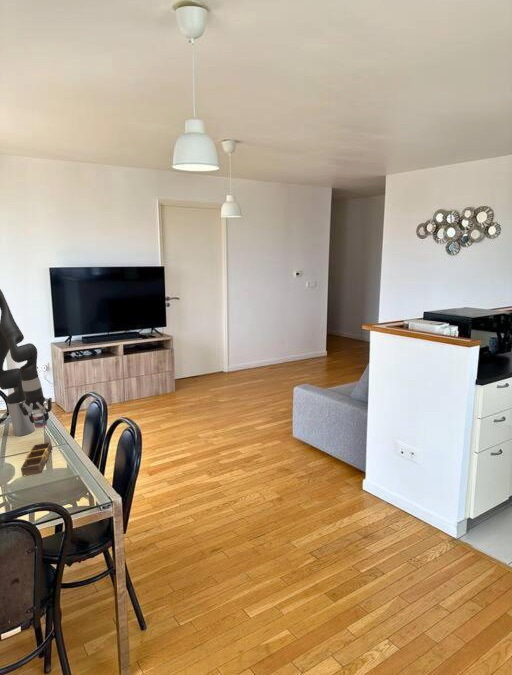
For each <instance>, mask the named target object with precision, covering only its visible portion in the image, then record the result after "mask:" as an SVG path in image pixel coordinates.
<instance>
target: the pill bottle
mask: <svg viewBox="0 0 512 675" xmlns="http://www.w3.org/2000/svg"><path fill="white" fill-rule="evenodd" d="M32 414H33V415H32V417H33V421H34V423H33V424H34V428H35V429H37V430H39V429H43V428H45V427H46V426H47V425H48V420H47V421H45V417H44V412H43V411H42V410H41V409H40V408H36V409H33V412H32Z"/></svg>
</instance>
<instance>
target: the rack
mask: <svg viewBox="0 0 512 675" xmlns="http://www.w3.org/2000/svg"><path fill="white" fill-rule="evenodd" d="M51 450H52V451H53V445H52V442H51V441H49V442H44V443H39V444H33V446H32V448H31V450H29V451H28V453H27V455H26V457H25V458H24V462H23V463H22V466H21V467H20V471H21V474H22V477H24V475H26V476H30V475H36V474H37V475H38V474H41V473H43V471H44V469H45V466H46V464H47V462H48V460H49V458H48V457H50V456H49V455H51V454H50V453H52V452H51ZM47 459H48V460H47Z"/></svg>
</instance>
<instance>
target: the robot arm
mask: <svg viewBox="0 0 512 675" xmlns="http://www.w3.org/2000/svg"><path fill="white" fill-rule="evenodd" d="M24 339H25V337H24V334H23V333H22V330H21V329H20V328H19V325H18V324H17V322H16V321H15V319H14V317H13V314H12V311H11V309H10V306H9V304H8V302H7V299H6V297H5V295H4V293H3V291H2V289H1V288H0V389H1V390H3V391H4V390H9V389H10V390H11V389H14V388H16V387H17V388H18V389H17V390H16V391H15V392H14V391H13V392H11V393H9V394H8V395H7V396H6V398H5V401H6V404H7V409H8V413H9V417H10V420H11V421H10V422H11V425H12V429H13V433H14V436H16V437H23V436H28V435H29V434H32V433H33V432H35V429H36V428H35V426H34V421H33V417H32V415H33V409H36V408H40V409H41V410H42V411H43V412H44V417H45V421H47V422H48V420H49V419H50V415H49V413H50V412H51V411H52V408H53V407H52V406H53V404H52V402H53V398H52V397H49V398H46V397H45V396H44V393H43V392H44V391H43V388H42V384H41V380H40V377H39V373H38V369H37V368H38V366H37V363H38V362H37V361H38V349H37V347H36V345H35V344H33V343H30V342H29V343H25V344H21V345H18V344H20V343H21V342H23V341H24ZM9 352H10V357H11V359H12V360H13V362H15V363H17V364H18V363H19V364H20V363H22V362H23V363H24V362H26V363H25V364H23V365H22V366H20V368H17V367H16V368H10V369H5V370H4V363H5V360H6V357H7V355H8V353H9ZM45 402H46V404H47V407H46V405H45V404H44V403H45Z"/></svg>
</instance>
